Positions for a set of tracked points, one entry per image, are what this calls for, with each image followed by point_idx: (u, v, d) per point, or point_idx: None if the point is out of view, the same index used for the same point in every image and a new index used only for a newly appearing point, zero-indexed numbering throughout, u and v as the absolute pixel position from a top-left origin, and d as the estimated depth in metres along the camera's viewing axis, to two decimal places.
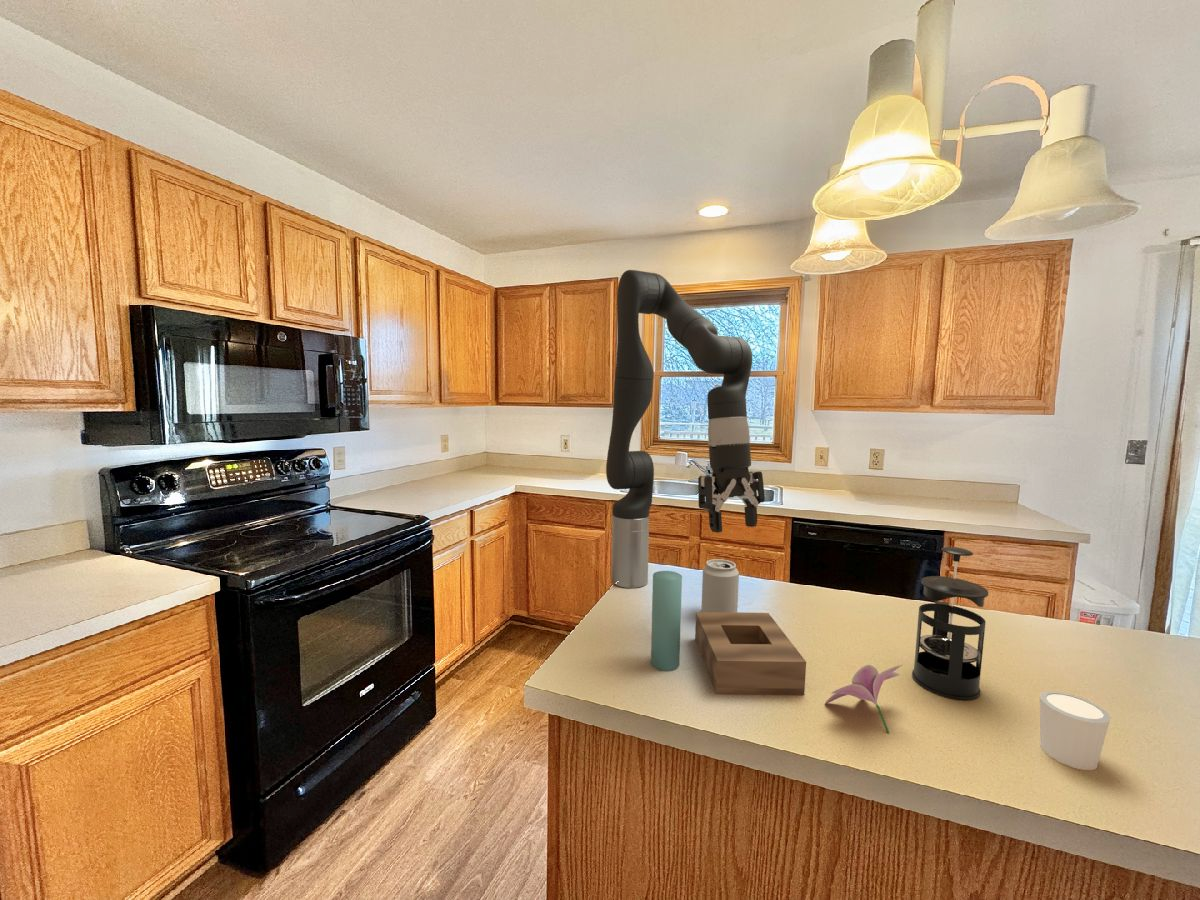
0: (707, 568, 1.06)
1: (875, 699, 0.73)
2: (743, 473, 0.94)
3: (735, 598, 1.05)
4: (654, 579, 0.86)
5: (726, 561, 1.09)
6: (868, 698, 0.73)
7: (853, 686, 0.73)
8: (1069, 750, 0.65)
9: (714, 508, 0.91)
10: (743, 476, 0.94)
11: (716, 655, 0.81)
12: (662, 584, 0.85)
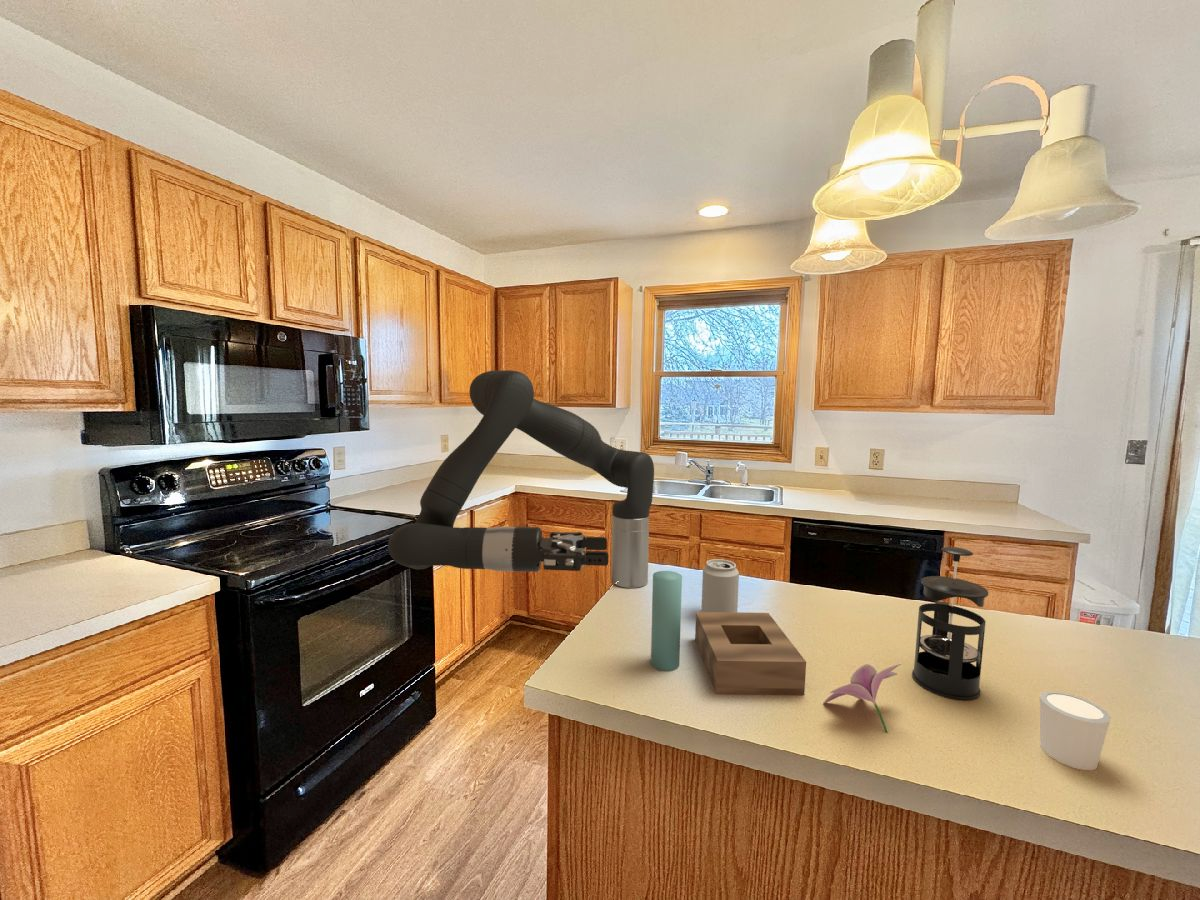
0: (707, 568, 1.06)
1: (873, 698, 0.73)
2: None
3: (735, 598, 1.05)
4: (654, 579, 0.86)
5: (726, 561, 1.09)
6: (866, 697, 0.74)
7: (851, 686, 0.73)
8: (1069, 750, 0.65)
9: None
10: None
11: (716, 655, 0.81)
12: (662, 584, 0.85)
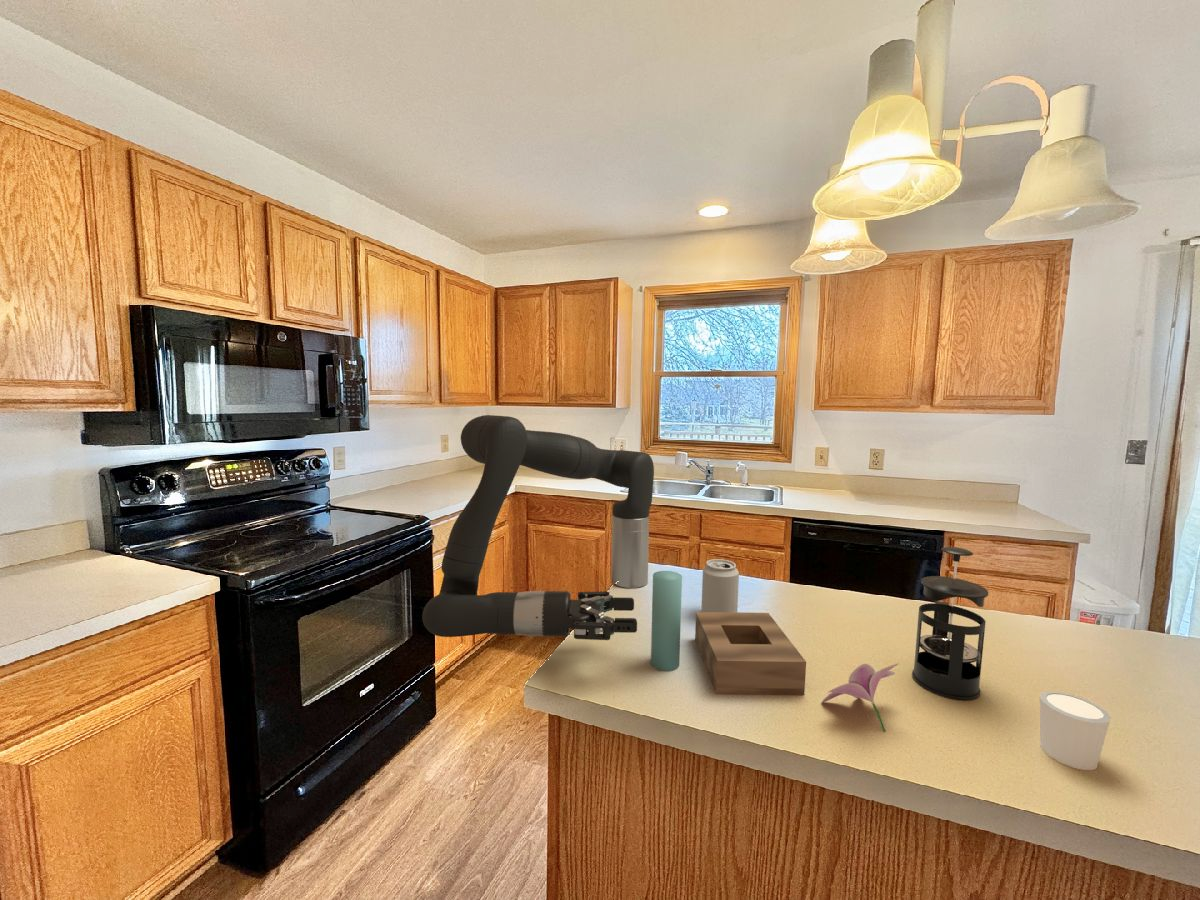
0: (707, 568, 1.06)
1: (871, 698, 0.73)
2: None
3: (735, 598, 1.05)
4: (654, 579, 0.86)
5: (726, 561, 1.09)
6: (864, 697, 0.74)
7: (850, 685, 0.73)
8: (1069, 750, 0.65)
9: None
10: None
11: (716, 655, 0.81)
12: (662, 584, 0.85)
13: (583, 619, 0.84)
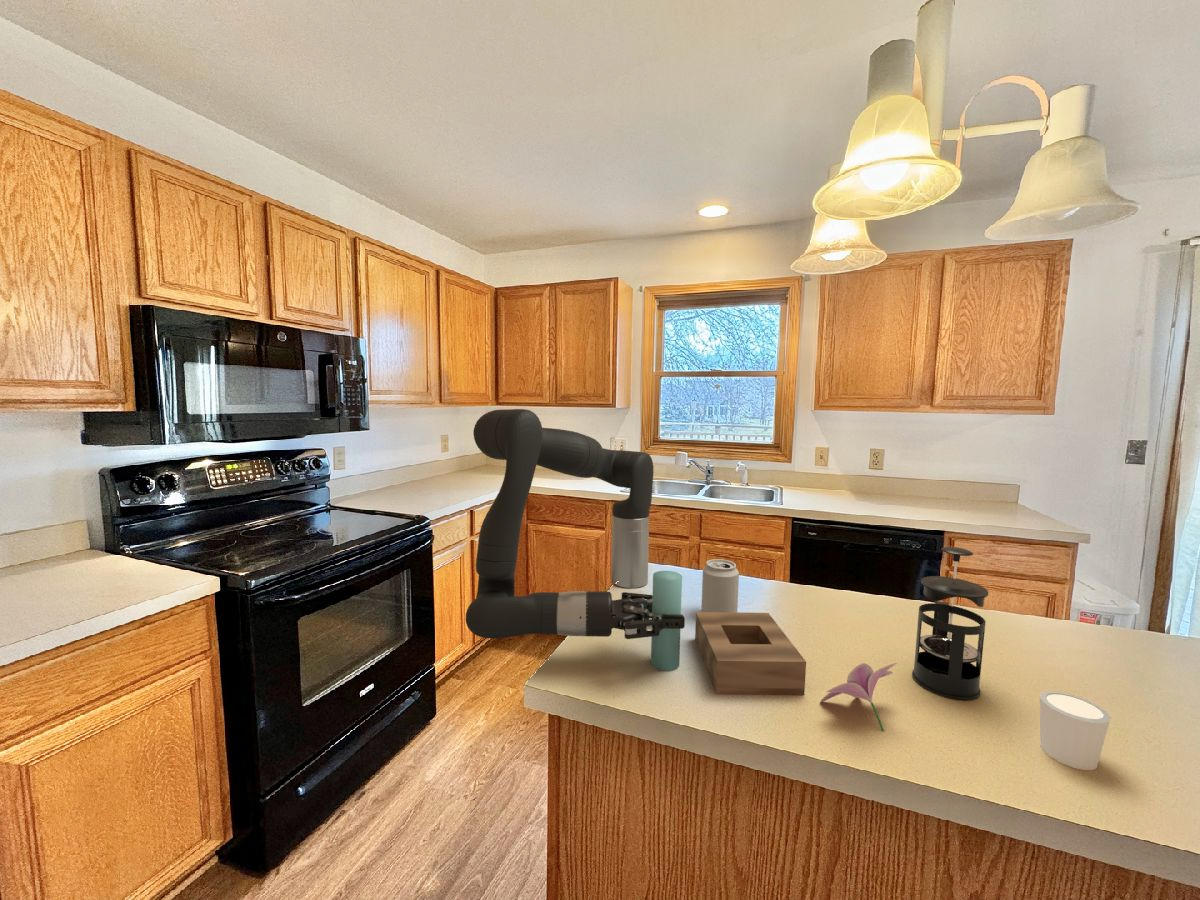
0: (707, 568, 1.06)
1: (870, 697, 0.73)
2: None
3: (735, 598, 1.05)
4: (654, 579, 0.86)
5: (726, 561, 1.09)
6: (863, 696, 0.74)
7: (848, 684, 0.73)
8: (1069, 750, 0.65)
9: None
10: None
11: (716, 655, 0.81)
12: (662, 584, 0.85)
13: (628, 619, 0.84)
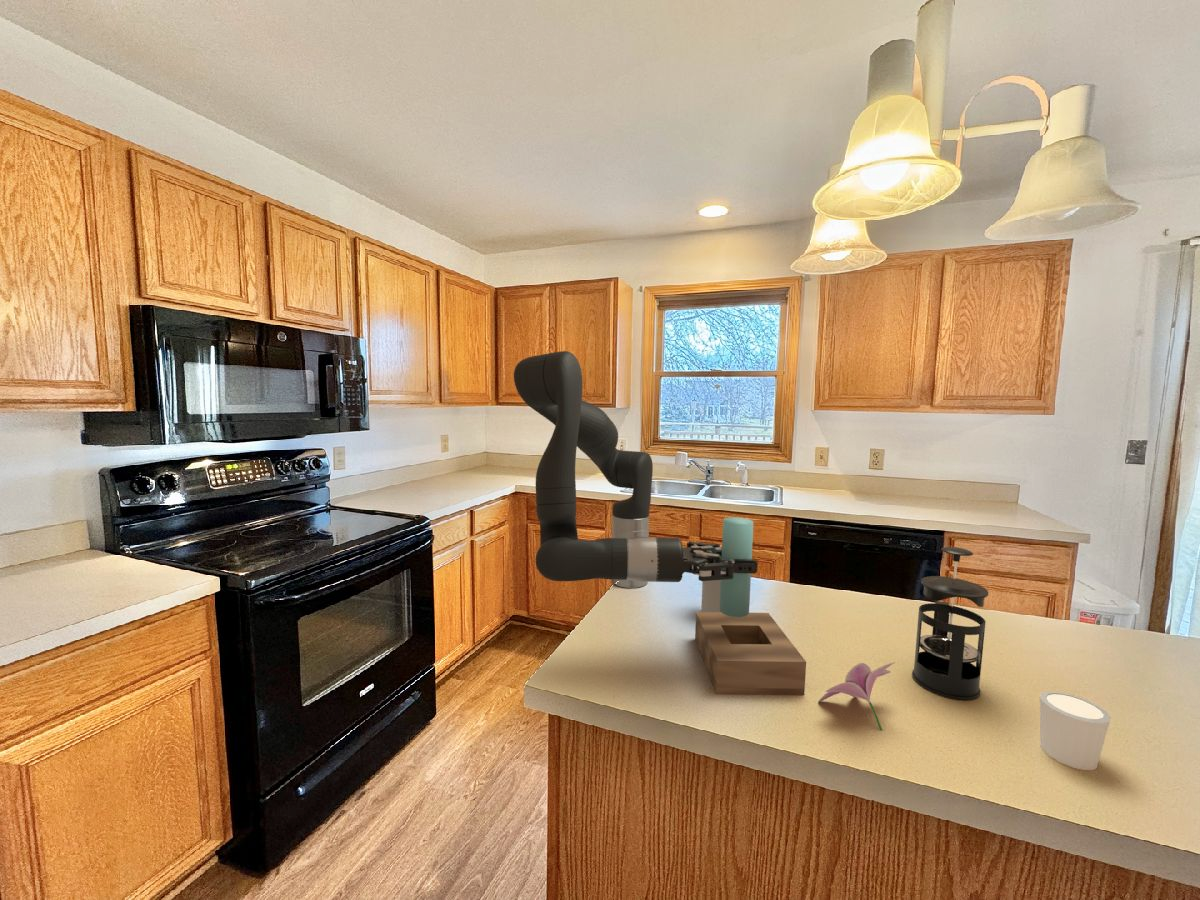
0: None
1: (868, 697, 0.74)
2: None
3: None
4: (725, 524, 0.85)
5: None
6: (861, 696, 0.74)
7: (846, 684, 0.73)
8: (1069, 750, 0.65)
9: None
10: None
11: (716, 655, 0.81)
12: (734, 528, 0.84)
13: (700, 562, 0.83)
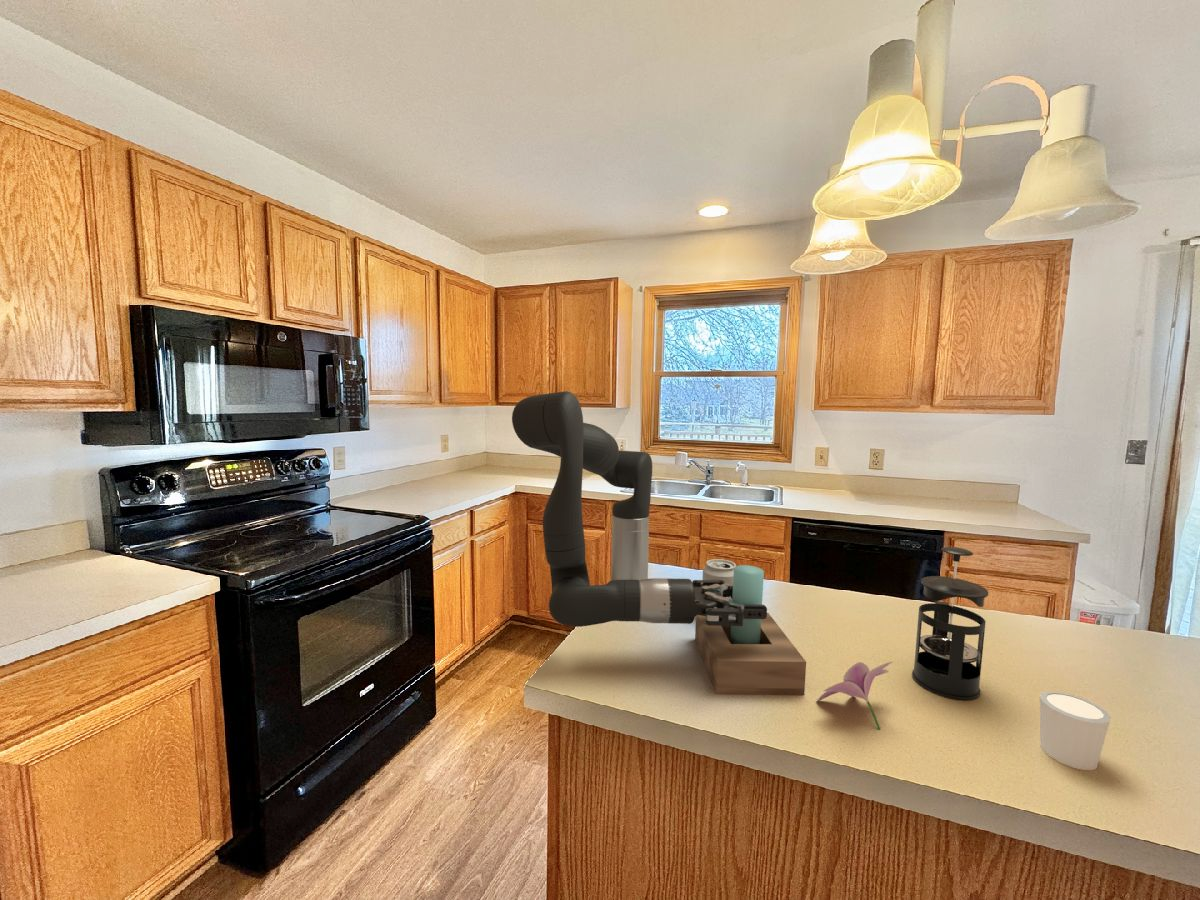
0: (707, 568, 1.06)
1: (866, 696, 0.74)
2: None
3: None
4: (736, 573, 0.86)
5: (726, 561, 1.09)
6: (859, 695, 0.74)
7: (845, 683, 0.74)
8: (1069, 750, 0.65)
9: None
10: None
11: (716, 655, 0.81)
12: (745, 578, 0.85)
13: (711, 606, 0.84)
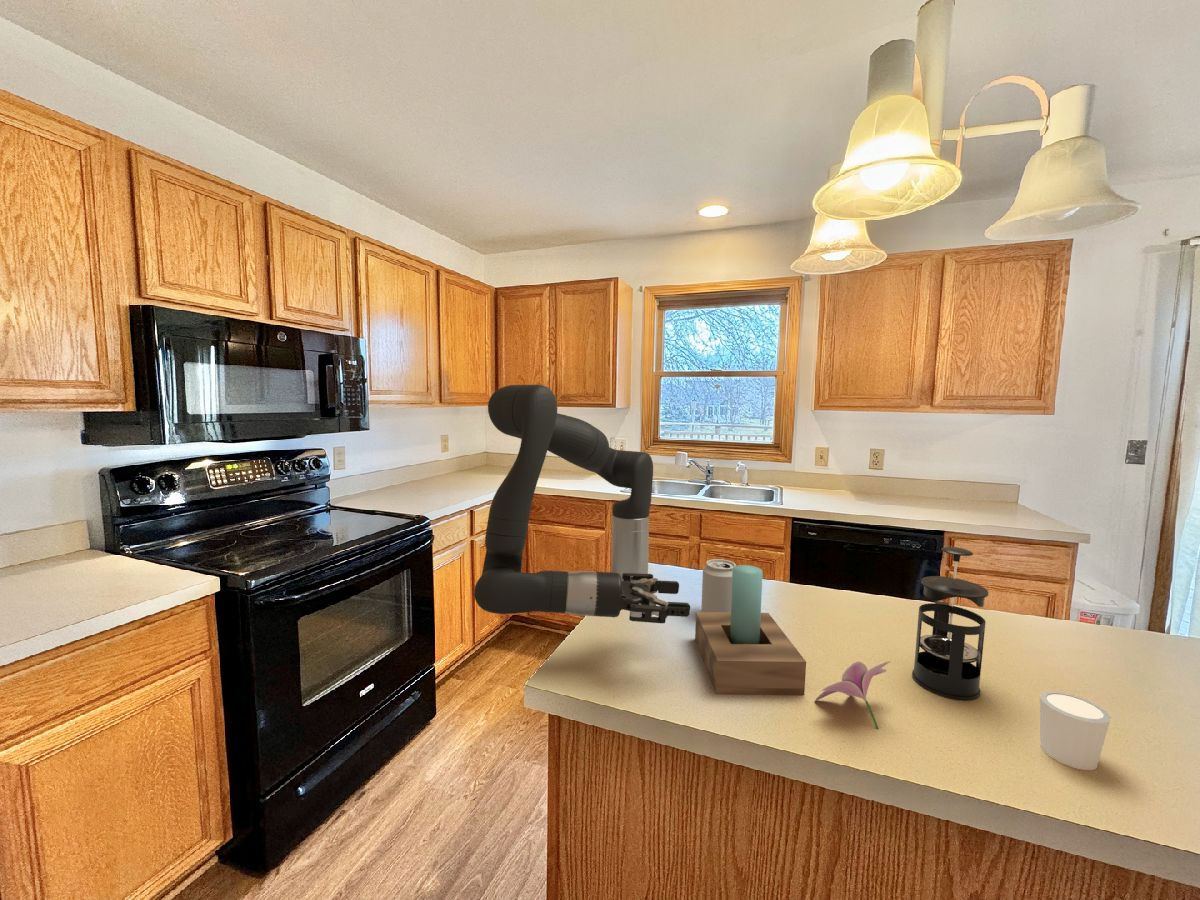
0: (707, 568, 1.06)
1: (864, 695, 0.74)
2: None
3: None
4: (735, 573, 0.87)
5: (726, 561, 1.09)
6: (857, 694, 0.74)
7: (843, 683, 0.74)
8: (1069, 750, 0.65)
9: None
10: None
11: (716, 655, 0.81)
12: (744, 577, 0.85)
13: (637, 601, 0.85)
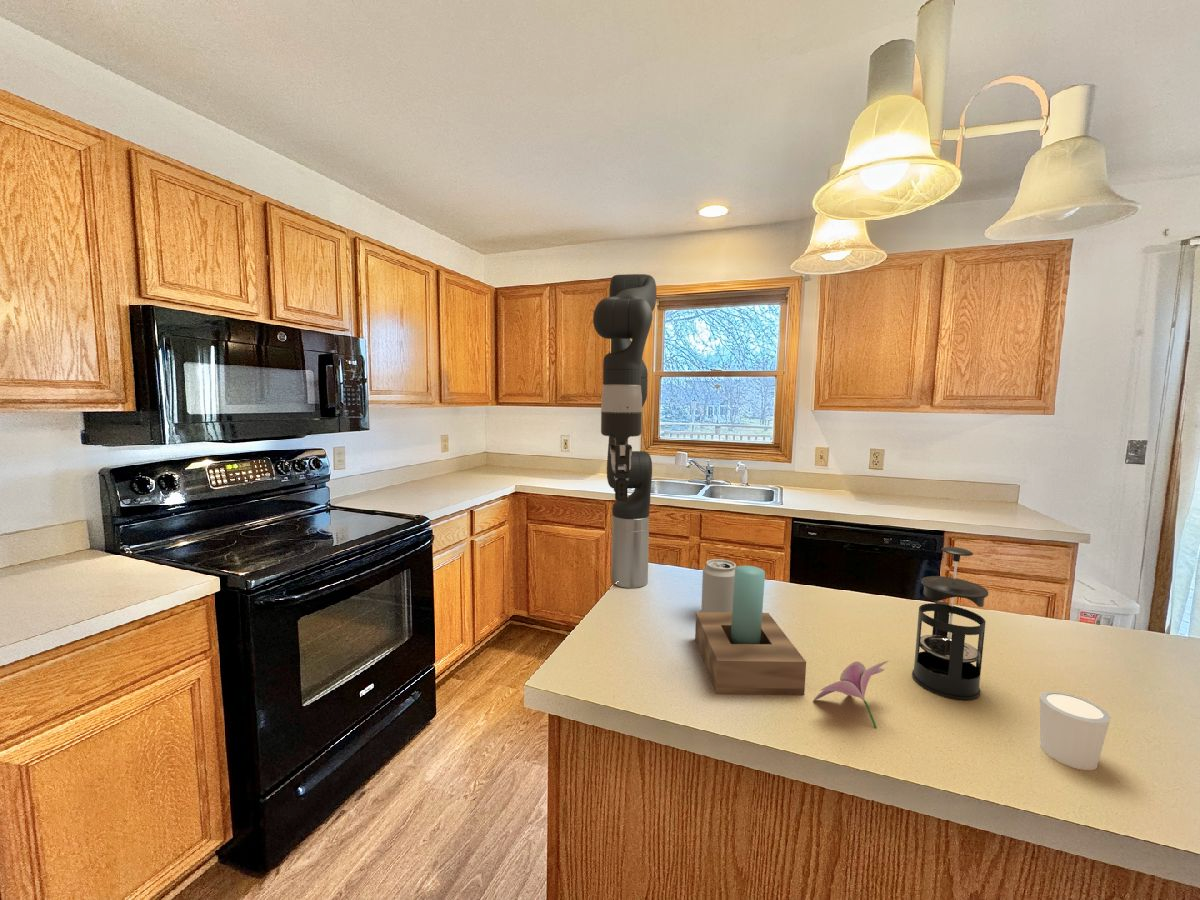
0: (707, 568, 1.06)
1: (863, 695, 0.74)
2: (615, 442, 0.92)
3: None
4: (737, 573, 0.86)
5: (726, 561, 1.09)
6: (855, 694, 0.74)
7: (841, 683, 0.74)
8: (1069, 750, 0.65)
9: None
10: (615, 445, 0.92)
11: (716, 655, 0.81)
12: (746, 578, 0.85)
13: None
